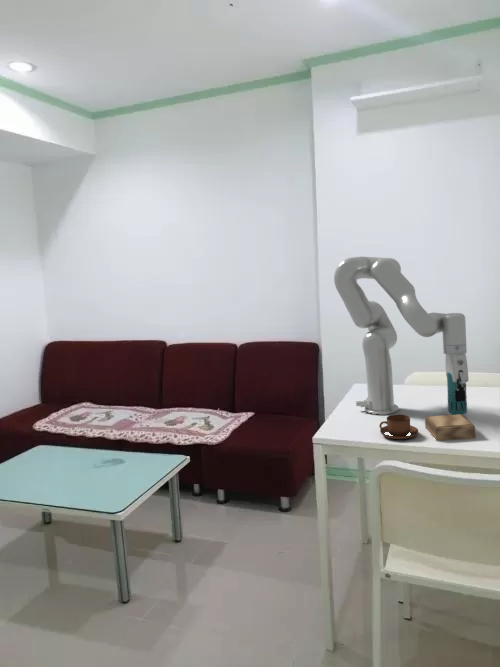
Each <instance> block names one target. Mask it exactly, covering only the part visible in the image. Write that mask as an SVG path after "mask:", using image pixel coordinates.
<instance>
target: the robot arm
mask: <svg viewBox="0 0 500 667" xmlns="http://www.w3.org/2000/svg"><path fill="white" fill-rule="evenodd" d="M401 271H402V268H401V264H400V262H398V261H397V260H396V259H395V258H393V257H378V256H377V257H375V256H374V257H373V256H353V257H348V258H345V259H343V260H342V261H341V262H340V263H339V264H338V265H337V267H336V269H335V272H334V275H333V282H334V286H335V289H336V291H337V293H338V294H339V296H340V298H341V300H342V301H343V303H344V304H343V305H344V306H345V308H346V310H347V312H348V314H349V316H350V318H351V320H352V321H353V324H354V325H355V326H356V327H357V328H359V329H368V332H366V333H365V334H364V336H363V337H362V338H363V339H362V350H363V355H364V361H365V371H366V372H365V373H366V387H367V388H366V389H367V397H365V398H366V399H364V400H358V401H355V406H356V407H360V408H364V412H366V413H367V412H368V414H370V413H372V414H371V415H376V414H379V416H380V415H381V416H382V415H384V416H385V415H393V414H395V413H397V412H398V411H399V406H398V405H397V404H396V403H395V401H394V400H395V399H394V383H393V382H394V381H393V369H392V366H393V365H392V359H391V355H390V349H392V348H393V347H394V346H395V345H396V344H397V341H398V334H397V331H396V329H395V327H394V325H393V324H392V322H391V320H390V317H389V316H388V314H387V312H386V310H385V309H384V308H383V306H382V305H381V304H380V303H378V302H376V301H374V300H373V301H372V300H369V299H368V297H367V296H366V294H365V291H364V290H363V288H362V287H361V285H359V284H358V280H361V279H368V280H369V279H370V280H375V281H376V283H377V284H378V285H379V286H380V287H381V288H382V289H383V290H384V291H385V293H387V295H388V296H389V297H390V298H391V300H392V301H393V302H394V303H395V306H396V307H397V309H398V311H399V313H400V315H401V316H402V317H403V319H404V320H405V322H406V323H407V324H408V325H409V326H410V328H412V329H413V331H414V332H415V333H417V335H419V336H421V337H423V338H431V337H433V336H435V335H436V334H439V333H442V347H443V348H442V350H443V354H445V376H446V377H447V373H448V372H449V373H450V374H451V376H452V381H453V382H455V386H456V390H455V399H456V402H462V401H465V400H466V399H465V384H466V385H467V382H469V369H468V360H467V355H466V354H467V331H466V330H467V328H466V326H467V325H466V316H465V314H464V313H461V312H450V313H449V312H448V313H442V312H430V313H428V312H427V310H425V308H423V306H422V305H421V304H420V302H419V300H418V298H417V296H416V289H415V287H414V285H413V284H412V283H411V282H410V281H409V280H408V279H407V277H406V276H405V275H404V274H403V273H402V272H401ZM457 379H460V381H457ZM458 383H460V384H459V386H458Z"/></svg>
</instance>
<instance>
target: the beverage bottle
mask: <svg viewBox="0 0 500 667" xmlns="http://www.w3.org/2000/svg"><path fill="white" fill-rule="evenodd" d="M457 381H460V379H457ZM446 384H447V386H446V387H447V388H446V389H447V412H448V413H449V415H458V414H462V415H463V416H464V415H466V414H467V412H468V403H467V402H468V400H467V398H468V396H467V383H466V384H465V399H466V400H465V401H462V402H456V399H455V390H456V386H455V382H453V381H452V376H451V374H450V373H449V372H448V373H447V376H446ZM459 384H460V383H458V386H459Z"/></svg>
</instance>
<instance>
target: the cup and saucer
mask: <svg viewBox="0 0 500 667" xmlns="http://www.w3.org/2000/svg"><path fill="white" fill-rule="evenodd" d="M383 424H385V425H386V426H383V427H382V425H383ZM379 428H380V430H379V432H380V434H381V435H382V436H384V437H386V438H388V439H392V440H407V439H410V438H413V437H415V436H416V435H417V434H418V433H419V429H418V428H417V427H415V426H413V425H411V418H410V416H409V415H407V414H389V415H388V416H387V417H386V420H385V421H381V422H380V423H379ZM385 432H389V433H390V434H391V435H393V436H389V435H385V434H384V433H385ZM409 432H410V433H411V435H410V436H406V435H407V434H408V433H409Z"/></svg>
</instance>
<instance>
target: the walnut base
mask: <svg viewBox="0 0 500 667" xmlns="http://www.w3.org/2000/svg"><path fill="white" fill-rule="evenodd" d="M424 426H425V430H426V429H427V430H428V431H429V432H430V433H431V434H430V433H429V432H428V431H427V430H426V431H427V432H428V433H429V434H430V435H431V437H432V438H433V437H434V438H435V439H436V440H441V441H451V440H452V441H453V440H466V439H476V425H475V424H474V423H473V422H471V421H470V420H469V419H468V418H466V417H465V416H464V414H463V415H462V414H458V415H453V414H448V415H447V414H446V415H445V414H444V415H433V416H424ZM434 438H433V439H434ZM435 439H434V440H435ZM436 440H435V441H436Z"/></svg>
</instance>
